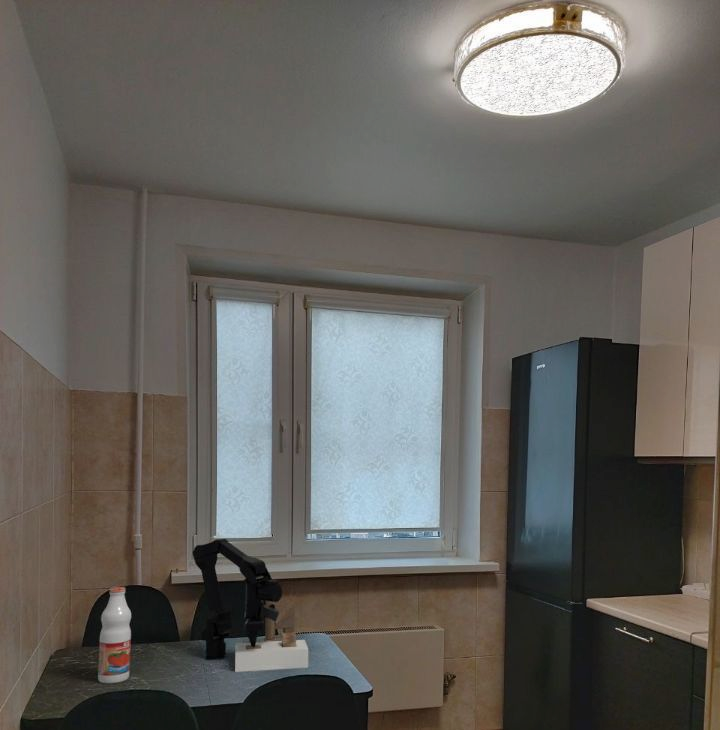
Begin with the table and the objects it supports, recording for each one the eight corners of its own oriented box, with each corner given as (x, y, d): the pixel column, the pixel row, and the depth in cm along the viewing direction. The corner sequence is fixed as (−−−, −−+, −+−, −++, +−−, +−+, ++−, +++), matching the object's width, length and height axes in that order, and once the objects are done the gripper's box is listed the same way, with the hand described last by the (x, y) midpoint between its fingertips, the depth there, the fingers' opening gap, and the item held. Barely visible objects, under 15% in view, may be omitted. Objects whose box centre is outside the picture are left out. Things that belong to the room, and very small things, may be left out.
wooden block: (294, 648, 250) (294, 597, 252) (265, 651, 246) (266, 599, 249) (291, 645, 253) (292, 595, 256) (263, 648, 249) (264, 597, 252)
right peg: (282, 652, 229) (283, 636, 229) (281, 649, 233) (282, 633, 234) (295, 652, 229) (296, 635, 230) (294, 648, 234) (294, 632, 234)
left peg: (246, 665, 226) (247, 648, 227) (246, 661, 230) (246, 645, 231) (260, 664, 227) (260, 648, 227) (259, 661, 231) (259, 644, 232)
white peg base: (235, 671, 221) (235, 652, 222) (235, 661, 233) (235, 643, 234) (308, 667, 226) (308, 648, 227) (304, 657, 237) (304, 639, 238)
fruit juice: (114, 673, 221) (118, 584, 225) (135, 677, 216) (139, 586, 220) (91, 681, 213) (95, 589, 217) (112, 685, 208) (116, 591, 212)
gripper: (279, 603, 224) (279, 652, 222) (276, 592, 242) (275, 638, 240) (245, 604, 222) (244, 654, 220) (244, 594, 240) (243, 640, 238)
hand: (253, 646), depth 229 cm, fingers closed, pressing on left peg
